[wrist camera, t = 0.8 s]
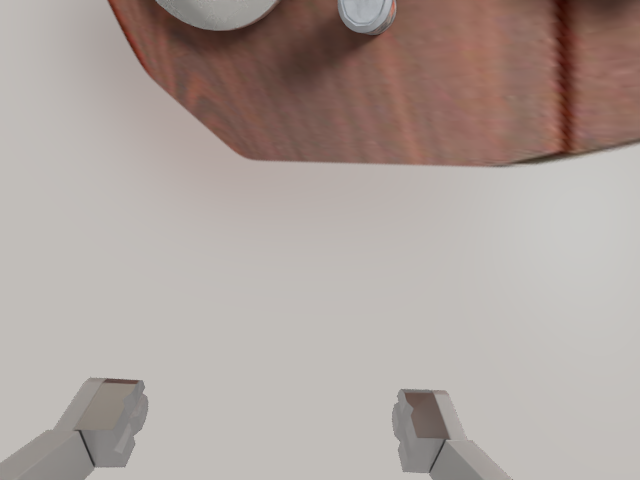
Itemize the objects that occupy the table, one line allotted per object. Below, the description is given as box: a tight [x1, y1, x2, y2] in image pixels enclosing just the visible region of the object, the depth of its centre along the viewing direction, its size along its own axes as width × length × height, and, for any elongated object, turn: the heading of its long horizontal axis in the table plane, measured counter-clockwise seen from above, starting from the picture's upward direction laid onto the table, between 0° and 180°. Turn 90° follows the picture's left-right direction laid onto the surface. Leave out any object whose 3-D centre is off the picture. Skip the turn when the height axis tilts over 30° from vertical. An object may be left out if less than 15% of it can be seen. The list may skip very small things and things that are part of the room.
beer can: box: [338, 0, 396, 35], centre depth 34 cm, size 5×5×12 cm
